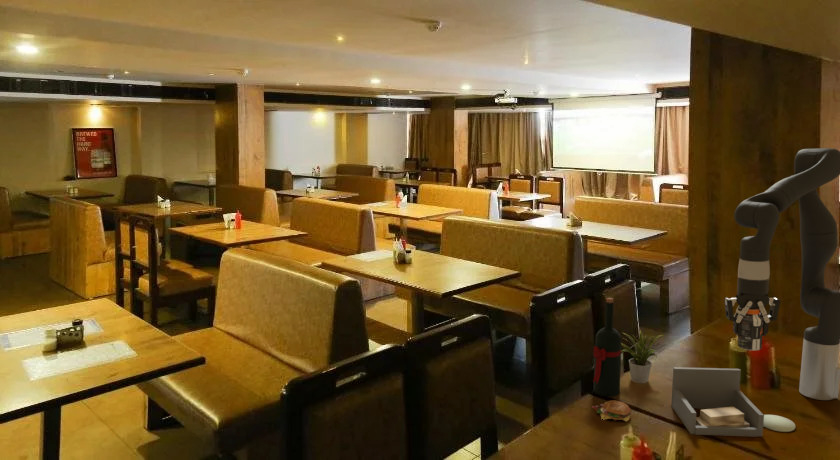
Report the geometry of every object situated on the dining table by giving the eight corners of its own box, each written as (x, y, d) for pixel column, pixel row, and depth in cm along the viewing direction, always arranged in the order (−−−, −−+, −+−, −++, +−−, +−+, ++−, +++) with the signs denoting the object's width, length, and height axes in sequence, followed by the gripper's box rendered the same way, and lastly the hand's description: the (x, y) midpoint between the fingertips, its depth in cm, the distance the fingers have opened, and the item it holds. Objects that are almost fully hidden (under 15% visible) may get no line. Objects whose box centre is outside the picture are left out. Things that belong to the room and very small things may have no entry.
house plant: (645, 368, 212) (647, 322, 210) (674, 383, 199) (676, 335, 197) (610, 374, 208) (611, 327, 205) (636, 390, 195) (639, 340, 192)
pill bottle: (764, 351, 168) (767, 311, 166) (740, 350, 169) (742, 310, 167) (757, 344, 173) (760, 304, 172) (734, 343, 175) (736, 304, 173)
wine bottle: (583, 392, 193) (586, 299, 189) (603, 384, 200) (606, 293, 195) (605, 401, 187) (609, 304, 183) (624, 391, 194) (628, 298, 189)
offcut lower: (739, 424, 173) (739, 415, 172) (749, 433, 168) (749, 424, 167) (693, 425, 172) (693, 417, 172) (701, 434, 167) (702, 425, 167)
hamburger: (630, 406, 185) (631, 387, 184) (637, 428, 171) (638, 407, 170) (582, 403, 187) (582, 384, 187) (585, 424, 174) (586, 404, 173)
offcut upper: (732, 415, 173) (733, 406, 172) (743, 422, 168) (744, 413, 168) (699, 418, 171) (700, 409, 171) (710, 426, 167) (710, 417, 166)
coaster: (785, 417, 175) (785, 415, 175) (801, 432, 167) (801, 430, 167) (752, 416, 176) (752, 414, 176) (766, 431, 168) (766, 429, 167)
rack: (736, 407, 182) (739, 368, 180) (762, 436, 165) (766, 394, 163) (671, 405, 184) (673, 367, 182) (690, 434, 166) (693, 392, 164)
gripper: (775, 271, 171) (771, 330, 173) (720, 272, 172) (717, 330, 175) (788, 278, 163) (784, 339, 166) (730, 279, 165) (727, 339, 168)
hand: (750, 334), depth 171 cm, fingers closed on pill bottle, 6 cm apart
